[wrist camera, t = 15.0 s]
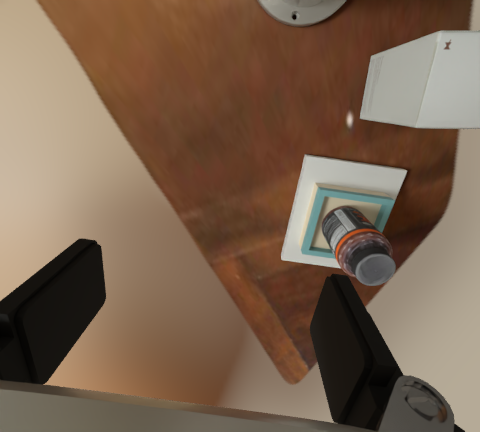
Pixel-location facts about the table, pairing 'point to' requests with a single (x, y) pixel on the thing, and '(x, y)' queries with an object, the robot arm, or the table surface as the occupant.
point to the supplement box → (426, 83)
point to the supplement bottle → (358, 246)
